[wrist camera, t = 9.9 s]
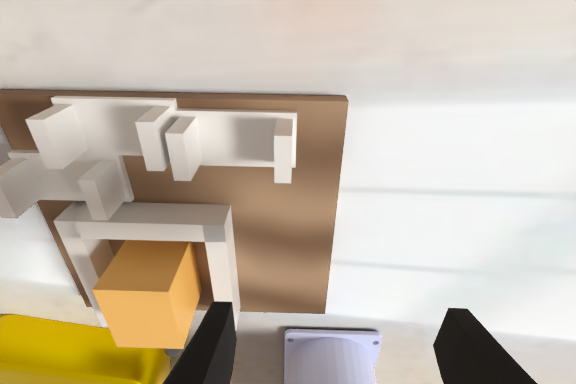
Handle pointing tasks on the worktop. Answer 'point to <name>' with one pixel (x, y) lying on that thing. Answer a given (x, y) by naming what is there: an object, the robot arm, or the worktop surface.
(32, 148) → the board
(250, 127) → the clip
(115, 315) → the block
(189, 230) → the frame
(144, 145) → the clip
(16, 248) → the worktop surface
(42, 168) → the clip
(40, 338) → the element tile
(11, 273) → the worktop surface
